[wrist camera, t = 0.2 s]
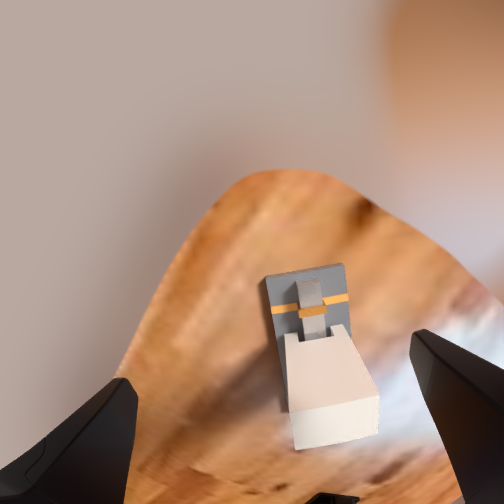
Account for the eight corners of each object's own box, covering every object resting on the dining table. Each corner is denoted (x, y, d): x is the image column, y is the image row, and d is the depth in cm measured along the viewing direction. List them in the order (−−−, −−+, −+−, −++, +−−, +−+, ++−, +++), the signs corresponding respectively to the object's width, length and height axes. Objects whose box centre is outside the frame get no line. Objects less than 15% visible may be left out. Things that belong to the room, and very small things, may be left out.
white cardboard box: (345, 356, 23) (377, 434, 13) (289, 366, 23) (295, 450, 13) (342, 323, 22) (379, 394, 13) (284, 334, 23) (289, 412, 13)
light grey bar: (332, 401, 24) (335, 414, 22) (310, 405, 24) (312, 418, 22) (319, 275, 22) (323, 282, 20) (293, 280, 22) (294, 287, 20)
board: (351, 396, 25) (354, 402, 23) (288, 407, 25) (289, 414, 24) (341, 262, 23) (344, 265, 22) (265, 276, 23) (265, 279, 22)
